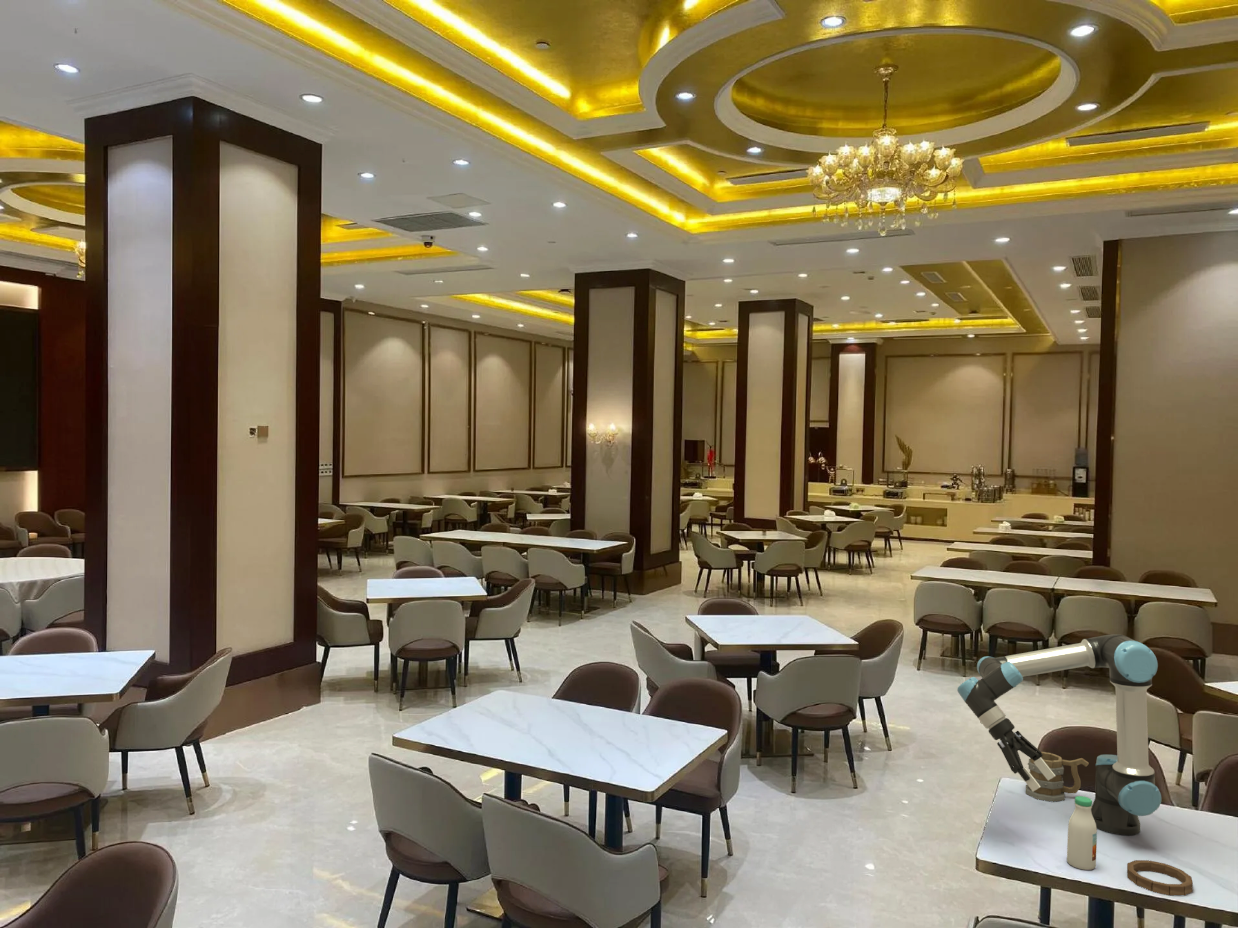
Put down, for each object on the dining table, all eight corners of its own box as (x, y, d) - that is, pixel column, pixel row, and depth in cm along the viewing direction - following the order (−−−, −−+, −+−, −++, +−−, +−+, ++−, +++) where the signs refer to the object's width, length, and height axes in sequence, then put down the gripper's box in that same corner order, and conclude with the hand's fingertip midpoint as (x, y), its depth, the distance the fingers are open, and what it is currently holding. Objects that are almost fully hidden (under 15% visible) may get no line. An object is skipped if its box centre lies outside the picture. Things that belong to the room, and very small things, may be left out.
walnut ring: (1126, 863, 269) (1126, 855, 269) (1189, 876, 261) (1189, 868, 261) (1127, 885, 255) (1128, 877, 255) (1194, 900, 247) (1194, 891, 247)
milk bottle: (1086, 872, 262) (1088, 805, 262) (1061, 862, 269) (1063, 796, 268) (1101, 866, 266) (1103, 800, 266) (1076, 856, 273) (1078, 791, 272)
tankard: (1025, 797, 319) (1027, 755, 319) (1025, 785, 331) (1026, 745, 331) (1088, 808, 311) (1090, 765, 311) (1086, 795, 323) (1087, 754, 322)
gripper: (1002, 721, 295) (1048, 779, 285) (972, 737, 277) (1020, 800, 267) (1020, 709, 292) (1067, 767, 282) (990, 725, 274) (1040, 787, 264)
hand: (1044, 783), depth 274 cm, fingers open, 13 cm apart
